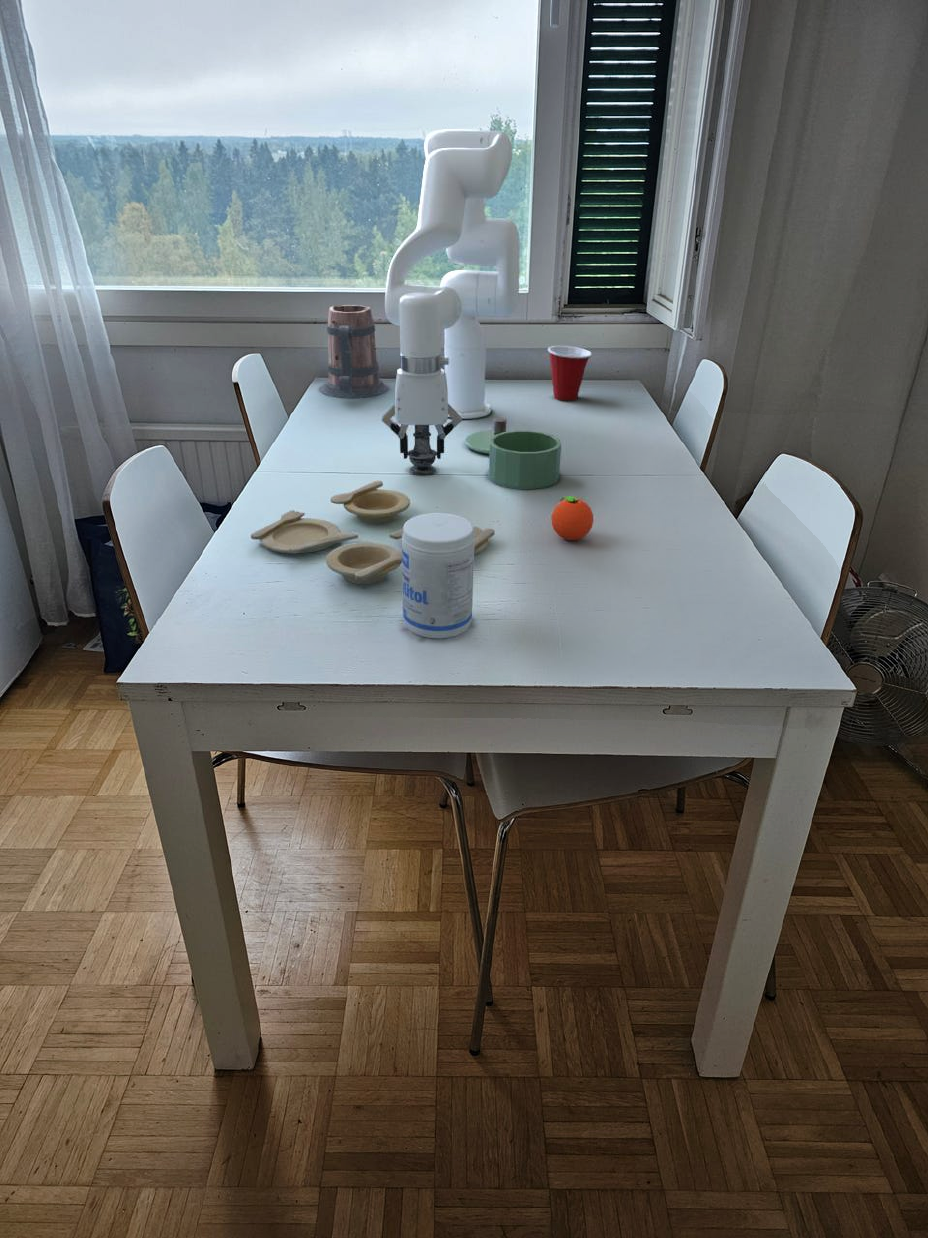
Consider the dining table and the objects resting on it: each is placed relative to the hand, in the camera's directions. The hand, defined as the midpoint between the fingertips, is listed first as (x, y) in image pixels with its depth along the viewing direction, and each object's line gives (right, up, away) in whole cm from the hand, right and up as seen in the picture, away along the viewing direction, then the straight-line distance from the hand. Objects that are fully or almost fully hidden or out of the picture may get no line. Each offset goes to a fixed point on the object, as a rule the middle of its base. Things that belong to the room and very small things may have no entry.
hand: (422, 455), depth 171 cm
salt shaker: (0, -3, +2) cm, 3 cm away
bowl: (+20, -4, -1) cm, 20 cm away
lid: (+16, +5, +15) cm, 22 cm away
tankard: (-20, +25, +50) cm, 60 cm away
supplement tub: (+5, -33, -51) cm, 61 cm away
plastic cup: (+34, +23, +48) cm, 63 cm away
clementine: (+26, -19, -25) cm, 41 cm away
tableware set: (-7, -20, -28) cm, 35 cm away
